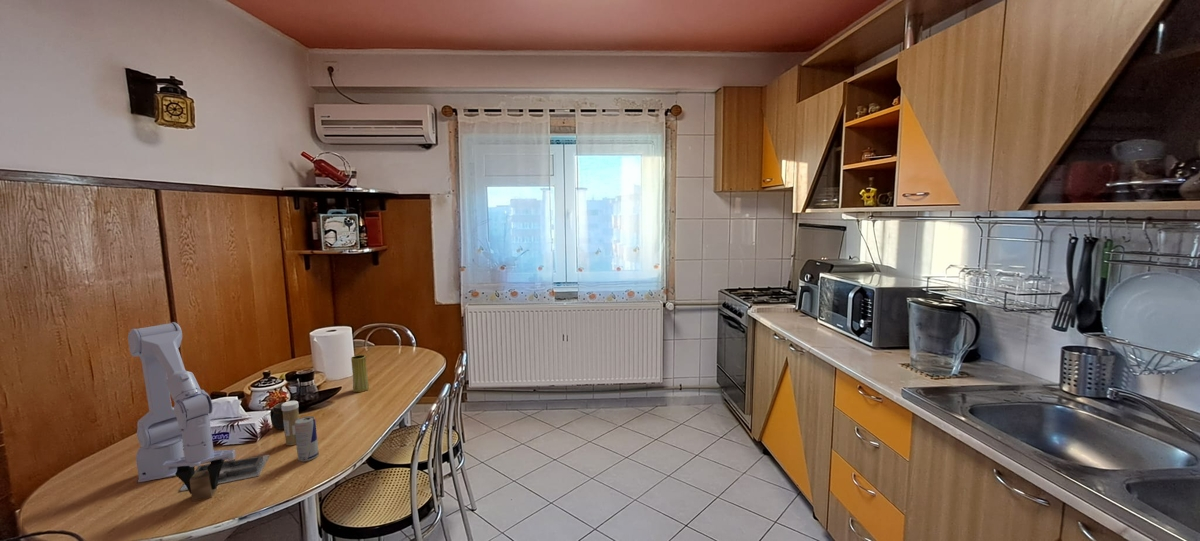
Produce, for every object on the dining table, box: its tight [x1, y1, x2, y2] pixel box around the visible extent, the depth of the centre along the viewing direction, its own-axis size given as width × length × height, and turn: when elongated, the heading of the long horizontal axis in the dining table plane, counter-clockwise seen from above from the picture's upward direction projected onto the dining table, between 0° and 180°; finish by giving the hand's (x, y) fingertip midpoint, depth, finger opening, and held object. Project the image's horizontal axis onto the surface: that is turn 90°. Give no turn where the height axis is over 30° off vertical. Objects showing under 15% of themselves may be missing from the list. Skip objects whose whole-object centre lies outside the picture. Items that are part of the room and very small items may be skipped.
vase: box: [350, 354, 370, 393], centre depth 197 cm, size 6×6×14 cm
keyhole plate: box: [179, 454, 270, 492], centre depth 135 cm, size 18×12×2 cm
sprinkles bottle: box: [281, 400, 300, 446], centre depth 152 cm, size 5×5×14 cm
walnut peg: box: [190, 470, 218, 502], centre depth 124 cm, size 4×4×6 cm
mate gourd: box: [271, 396, 297, 430], centre depth 164 cm, size 7×8×10 cm
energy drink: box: [294, 415, 319, 463], centre depth 142 cm, size 5×5×12 cm
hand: (204, 489), depth 124 cm, fingers closed on walnut peg, 4 cm apart
